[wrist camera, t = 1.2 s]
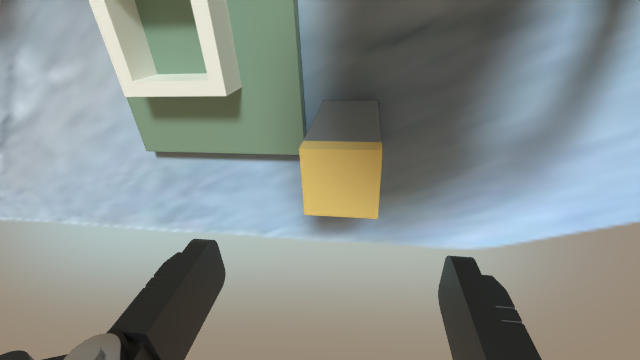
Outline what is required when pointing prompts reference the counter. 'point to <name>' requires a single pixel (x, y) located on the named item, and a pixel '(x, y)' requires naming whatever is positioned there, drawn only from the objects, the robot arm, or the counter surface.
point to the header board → (209, 72)
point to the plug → (343, 160)
